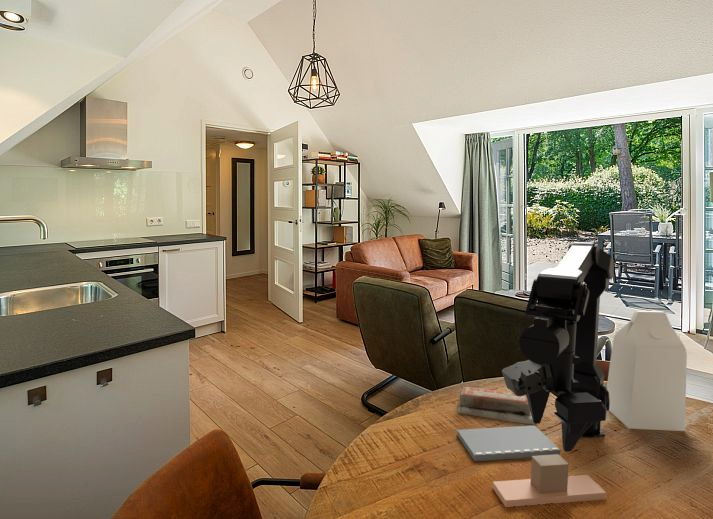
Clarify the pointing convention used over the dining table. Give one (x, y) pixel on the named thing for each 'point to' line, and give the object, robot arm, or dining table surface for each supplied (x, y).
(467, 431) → the board
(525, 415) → the packaged product
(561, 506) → the dining table surface
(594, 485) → the stub
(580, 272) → the robot arm
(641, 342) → the milk
